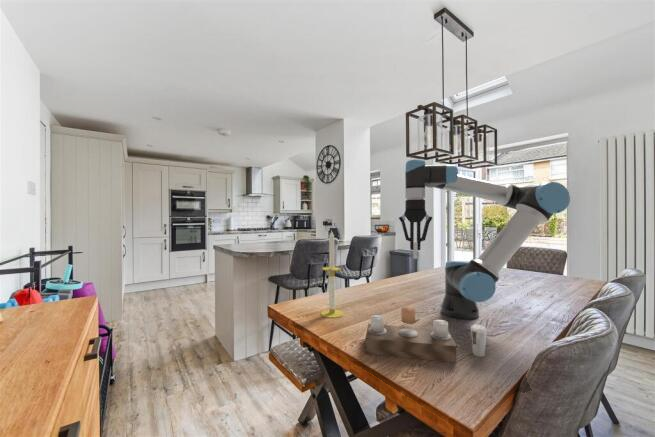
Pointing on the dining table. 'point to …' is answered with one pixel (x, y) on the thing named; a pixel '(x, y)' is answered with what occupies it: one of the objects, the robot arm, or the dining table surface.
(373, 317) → the knob
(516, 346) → the dining table surface
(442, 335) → the knob
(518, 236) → the robot arm
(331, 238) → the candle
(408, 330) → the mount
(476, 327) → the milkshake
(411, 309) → the knob middle
